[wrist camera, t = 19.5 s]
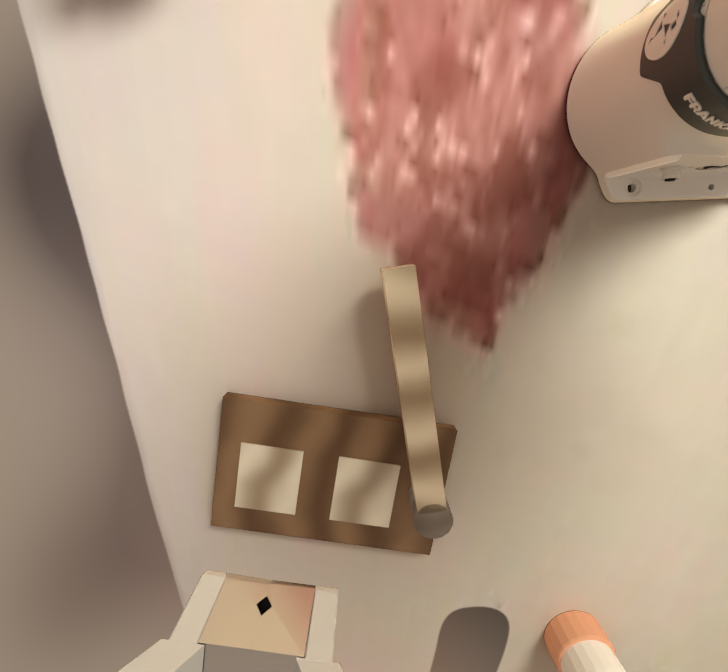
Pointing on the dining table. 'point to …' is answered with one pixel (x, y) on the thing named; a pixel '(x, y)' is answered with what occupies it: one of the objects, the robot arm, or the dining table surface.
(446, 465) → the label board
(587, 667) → the pepper shaker
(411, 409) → the swing bar
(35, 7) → the dining table surface
